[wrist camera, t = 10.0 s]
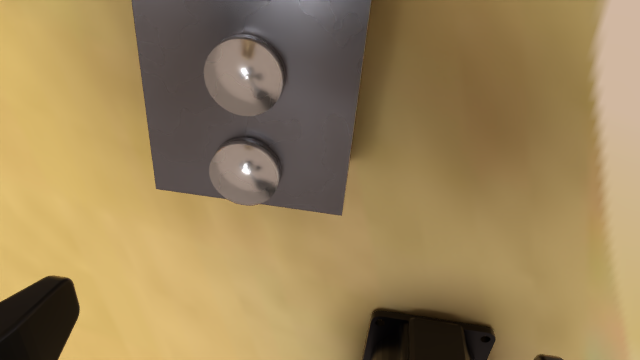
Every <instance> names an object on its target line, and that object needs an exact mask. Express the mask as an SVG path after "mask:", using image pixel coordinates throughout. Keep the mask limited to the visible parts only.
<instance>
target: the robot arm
mask: <svg viewBox="0 0 640 360" xmlns="http://www.w3.org/2000/svg"><path fill="white" fill-rule="evenodd" d="M79 311H80V307H79V302H78V299H77V295H76V291H75V288H74V284H73V282H72V280H71V279H69V278H66V277H60V276H47V277H45V278H43V279H41V280H39V281H38V282H36V283H34V284H32V285H30V286H28V287H27V288H25V289H23V290H21V291H19V292H18V293H16V294H14V295H12V296H10V297H9V298H7V299H5V300H3V301H1V302H0V360H58V359H59V356H60V354H61V352H62V350H63V348H64V346H65V344H66V342H67V340H68V338H69V336H70V333H71V331H72V329H73V327H74V325H75V323H76V321H77V319H78V316H79ZM494 342H495V334H494V331H493V329H491V328H489V327H485V326H478V325H472V324H465V323H459V322H452V321H446V320H439V319H433V318H427V317H420V316H414V315H407V314H401V313H394V312H388V311H375V312H373V313H372V315H371V319H370V323H369V328H368V333H367V338H366V342H365V347H364V352H363V357H362V360H487V358H488V356H489V354H490V351H491V349H492V347H493V345H494ZM534 360H563V359H562V358H560V357H556V356H550V355H544V354H539V355H537V356H536V357H535V359H534Z"/></svg>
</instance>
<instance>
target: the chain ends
mask: <svg viewBox="0 0 640 360" xmlns="http://www.w3.org/2000/svg"><path fill="white" fill-rule="evenodd" d="M371 2H372V0H132V7H133V15H134V23H135V30H136V38H137V46H138V53H139V61H140V69H141V76H142V84H143V92H144V99H145V107H146V115H147V122H148V130H149V138H150V145H151V153H152V161H153V168H154V176H155V184H156V189H160V190H167V191H174V192H181V193H188V194H195V195H202V196H209V197H216V198H223V199H228V200H230V201H232V202H234V203H237V204H241V205H257V204H265V205H272V206H278V207H285V208H292V209H299V210H306V211H313V212H320V213H327V214H334V215H341V216H342V210H343V204H344V197H345V190H346V183H347V176H348V170H349V163H350V156H351V148H352V141H353V134H354V126H355V119H356V112H357V104H358V97H359V90H360V83H361V75H362V68H363V61H364V53H365V46H366V39H367V31H368V24H369V17H370V9H371Z"/></svg>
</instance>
